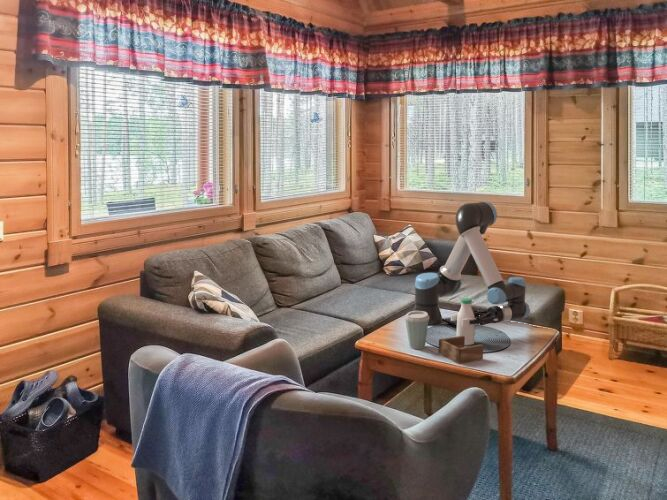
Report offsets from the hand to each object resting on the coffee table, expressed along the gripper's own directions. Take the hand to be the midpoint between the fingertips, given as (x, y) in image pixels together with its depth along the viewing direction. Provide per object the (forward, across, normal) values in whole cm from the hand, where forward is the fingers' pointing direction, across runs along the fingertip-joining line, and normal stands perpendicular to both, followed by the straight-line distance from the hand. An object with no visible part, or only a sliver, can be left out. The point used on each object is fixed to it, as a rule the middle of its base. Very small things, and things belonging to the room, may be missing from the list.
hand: (456, 320), depth 260 cm
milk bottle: (-5, 0, -11) cm, 12 cm away
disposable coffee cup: (+17, +5, -11) cm, 21 cm away
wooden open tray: (+7, -13, -11) cm, 18 cm away
